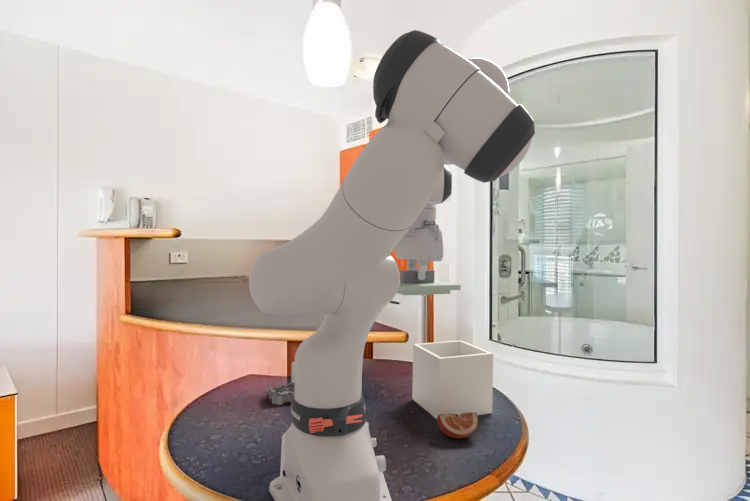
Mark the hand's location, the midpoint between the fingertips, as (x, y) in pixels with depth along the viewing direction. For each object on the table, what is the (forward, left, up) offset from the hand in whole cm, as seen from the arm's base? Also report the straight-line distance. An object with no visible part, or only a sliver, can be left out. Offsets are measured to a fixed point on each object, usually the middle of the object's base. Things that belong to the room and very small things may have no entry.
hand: (417, 279), depth 103 cm
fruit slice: (-18, -1, -31) cm, 36 cm away
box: (-3, -8, -31) cm, 32 cm away
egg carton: (+14, +28, -31) cm, 44 cm away
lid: (0, 0, -2) cm, 2 cm away
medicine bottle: (+21, +22, -31) cm, 43 cm away
